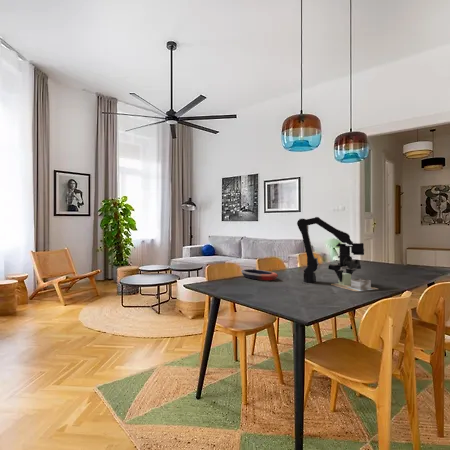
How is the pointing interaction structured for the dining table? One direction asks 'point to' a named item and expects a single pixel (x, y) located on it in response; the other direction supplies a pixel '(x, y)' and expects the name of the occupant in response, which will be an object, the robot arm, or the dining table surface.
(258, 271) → the dish
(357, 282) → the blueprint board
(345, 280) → the sage block
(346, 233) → the robot arm
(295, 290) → the dining table surface
